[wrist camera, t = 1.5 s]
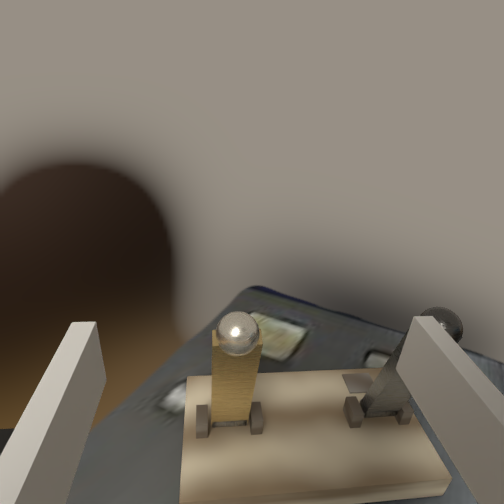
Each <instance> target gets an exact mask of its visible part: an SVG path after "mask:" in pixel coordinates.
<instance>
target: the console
mask: <svg viewBox="0 0 504 504" xmlns="http://www.w3.org/2000/svg"><path fill="white" fill-rule="evenodd" d="M382 369H383V368H367V369H345V370H322V371H300V372H278V373H257V377H256V382H255V387H254V392H253V398H252V403H251V408H250V413H249V418H248V423H247V426H232V427H217V428H212V425H211V384H212V375H210V376H188V377H187V388H186V404H185V419H184V435H183V451H182V467H181V482H180V498H179V504H359V503H370V502H380V501H390V500H401V499H411V498H422V497H432V496H442V495H443V494H444V492H445V491H446V489H447V487H448V485H449V483H450V482H451V480H452V477H451V475H450V474H449V472H448V470H447V469H446V467H445V465H444V464H443V462H442V460H441V458H440V457H439V455H438V453H437V452H436V450H435V448H434V447H433V445H432V443H431V442H430V440H429V438H428V437H427V435H426V433H425V432H424V430H423V428H422V426H421V425H420V423H419V421H418V420H417V418H416V416H415V415H414V410H413V409H412V407H411V405H410V404H409V402H408V401H407V402H406V403H405V404H404V405H403V407H402V408H401V409H400V410H399V411H398V414H397V416H388V417H373V418H364V413H363V410H362V408H361V406H360V400H361V399H363V397H364V396H365V394H366V393H367V391H368V390H369V388H370V387H371V385H372V384H373V382H374V381H375V379H376V378H377V376H378V375H379V373H380V372H381V370H382Z"/></svg>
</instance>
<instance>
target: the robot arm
mask: <svg viewBox="0 0 504 504" xmlns="http://www.w3.org/2000/svg"><path fill="white" fill-rule="evenodd" d="M396 371H397V372H398V374H399V375H400V377H401V379H402V380H403V382H404V384H405V385H406V387H407V388H408V390H409V392H410V393H411V395H412V397H413V398H414V400H415V402H416V403H417V405H418V406H419V408H420V410H421V411H422V413H423V415H424V416H425V418H426V419H427V421H428V423H429V424H430V426H431V428H432V429H433V431H434V432H435V434H436V436H437V437H438V439H439V441H440V442H441V444H442V446H443V447H444V449H445V450H446V452H447V454H448V455H449V457H450V459H451V460H452V462H453V463H454V465H455V467H456V468H457V470H458V472H459V473H460V475H461V477H462V478H463V480H464V481H465V483H466V485H467V486H468V488H469V490H470V491H471V493H472V494H473V496H474V498H475V499H476V501H477V503H478V504H504V396H503V395H502V393H501V392H500V391H499V390H498V389H497V388H496V387H495V386H494V384H493V383H492V382H491V381H490V380H489V379H488V378H487V377H486V376H485V374H484V373H483V372H482V371H481V370H480V369H479V368H478V367H477V365H476V364H475V363H474V362H473V361H472V360H471V359H470V358H469V356H468V355H467V354H466V353H465V352H464V351H463V350H462V349H461V347H460V346H459V345H458V344H457V343H456V342H455V341H454V340H453V338H452V337H451V336H450V335H449V334H448V333H447V332H446V331H445V330H444V328H443V327H442V326H441V325H440V324H439V323H438V322H437V321H436V319H435V318H434V317H433V316H414V317H413V320H412V323H411V326H410V329H409V331H408V334H407V337H406V340H405V343H404V346H403V349H402V352H401V355H400V358H399V360H398V363H397V366H396ZM105 382H106V375H105V370H104V364H103V358H102V353H101V348H100V342H99V336H98V331H97V325H96V322H73V323H72V324H71V325H70V327H69V329H68V331H67V333H66V335H65V337H64V338H63V340H62V342H61V344H60V346H59V348H58V350H57V351H56V353H55V355H54V357H53V359H52V361H51V363H50V365H49V366H48V368H47V370H46V372H45V374H44V376H43V377H42V379H41V381H40V383H39V385H38V387H37V389H36V390H35V392H34V394H33V396H32V398H31V400H30V402H29V403H28V405H27V407H26V409H25V411H24V413H23V414H22V416H21V419H20V420H19V422H18V424H17V426H16V428H15V429H0V504H65V503H66V500H67V497H68V494H69V491H70V488H71V485H72V482H73V479H74V476H75V473H76V470H77V467H78V464H79V461H80V458H81V455H82V452H83V449H84V446H85V443H86V440H87V437H88V434H89V431H90V428H91V425H92V421H93V419H94V415H95V413H96V409H97V406H98V404H99V400H100V397H101V394H102V391H103V388H104V385H105Z"/></svg>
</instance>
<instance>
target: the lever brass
mask: <svg viewBox="0 0 504 504" xmlns="http://www.w3.org/2000/svg"><path fill="white" fill-rule="evenodd" d="M262 346H263V342H262V335H261V329H259V327H258V324H257V322H256V321H255V319H254V318H253V317H252V316H250V315H249V314H247V313H244V312H239V311H237V312H231V313H229V314H227V315H225V316H224V317H223V318H222V319H221V320H220V322H219V323H218V326H217V328H216V330H212V384H211V425H212V428H217V427H232V426H247V423H248V418H249V413H250V408H251V403H252V398H253V392H254V387H255V382H256V377H257V372H258V367H259V361H260V356H261V351H262Z"/></svg>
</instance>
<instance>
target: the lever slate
mask: <svg viewBox="0 0 504 504" xmlns="http://www.w3.org/2000/svg"><path fill="white" fill-rule="evenodd" d="M420 316H433V317H434V318H435V319H436V321H437V322H438V323H439V324H440V325H441V326H442V327H443V328H444V330H445V331H446V332H447V333H448V334H449V335H450V336H451V337H452V338H453V340H454V341H455V342H456V343H458V342H459V341H460V340H461V338H462V334H463V326H462V322H461V320H460V319H459V317H458V316H457V315H456V314H455V313H453V312H452V311H451V310H449V309H446V308H443V307H433V308H430V309H427V310H426V311H424V312H423V313H422V314H421V315H420ZM409 329H410V328H409ZM409 329H408V331H409ZM408 331H407V332H406V334H405V335H404V337H403V338H402V340H401V341H400V343H399V344H398V346H397V347H396V349H395V350H394V352H393V353H392V355H391V356H390V358H389V359H388V361H387V362H386V364H385V365H384V367H383V369H382V370H381V372H380V373H379V375H378V376H377V378H376V379H375V381H374V382H373V384H372V385H371V387H370V388H369V390H368V391H367V393H366V394H365V396H364V397H363V399H361V400H360V406H361V408H362V410H363V413H364V418H373V417H388V416H397V414H398V411H399V410H400V409H401V408H402V407H403V405H404V404H405V403H406V402H407V401H408V400H409V399H410V397H411V396H412V395H411V393H410V392H409V390H408V388H407V387H406V385H405V384H404V382H403V380H402V379H401V377H400V375H399V374H398V372H397V371H396V366H397V363H398V360H399V358H400V355H401V352H402V349H403V346H404V343H405V340H406V337H407V334H408Z"/></svg>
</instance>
